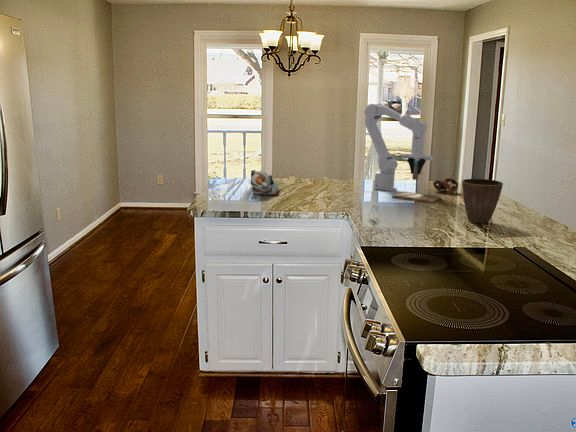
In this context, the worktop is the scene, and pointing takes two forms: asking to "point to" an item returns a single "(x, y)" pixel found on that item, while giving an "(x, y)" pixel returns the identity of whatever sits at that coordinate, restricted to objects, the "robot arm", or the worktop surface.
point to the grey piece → (263, 183)
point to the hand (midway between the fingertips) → (415, 173)
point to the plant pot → (480, 198)
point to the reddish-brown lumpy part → (446, 185)
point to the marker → (415, 170)
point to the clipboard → (417, 197)
